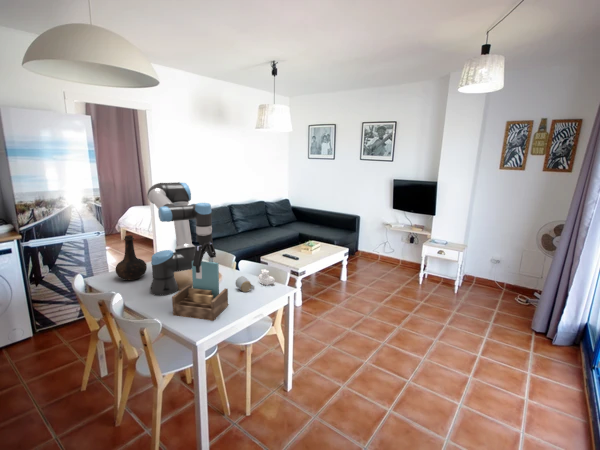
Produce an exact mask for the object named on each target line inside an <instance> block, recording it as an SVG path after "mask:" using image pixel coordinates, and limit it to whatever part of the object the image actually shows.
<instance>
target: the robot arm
mask: <svg viewBox="0 0 600 450" xmlns="http://www.w3.org/2000/svg"><path fill="white" fill-rule="evenodd" d="M191 192H192V191H191V189H190V187H189V185H188V184H187V182H180V181H179V182H157V183H155V184H153V185H152V186H150V188H148V190H147V193H146V196H147V199H148V200H149V202H150V203H151V204H154V205H155V207H156V208H157V209H158V218H159V221H160V222H164V223H165V222H168V223H169V222H173V225H174V231H175V232H174V234H175V239H176V247H175V249H174V251H173V250H171V249H165V250H160V251H157V252H155V253H154V254H152V255H151V263H150V264H151V273H152V280H151V285H150V287H149V292H150V294H151V295H154V296H159V297H161V296H167V295H172V294H175V293H176V292H178V290H179V284H178V282H177V280H176V277H175V273H177V272H183V271H189V270H190V271H192V261H193V260H194V261H193V266H196V278H198V279H202V267H201V266H200V265H201V262H202V261H203V258H204V256H205V254H207V255H208V262H215V258H217V252H216V249H215V246H214V241H213V240H214V239H213V234H212V233H213V232H212V231H213V227H212V226H213V225H212V220H213V219H212V205H211V204H210V203H209V202H198V203H191V204H190V201H191V200H192V193H191ZM189 220H190V221H191V220H195V233H196V237H195V238H196V242H197V243H198V244H199V245H194V244H193V243H192V242H193V241H192V234H191V228H190V221H189Z"/></svg>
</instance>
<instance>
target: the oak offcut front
mask: <svg viewBox="0 0 600 450" xmlns="http://www.w3.org/2000/svg"><path fill="white" fill-rule="evenodd" d="M212 300H213V295H204V294H196V293H195V294H193V301H194V303H202V304H210V305H211V301H212Z"/></svg>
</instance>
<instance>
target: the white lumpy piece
mask: <svg viewBox="0 0 600 450" xmlns="http://www.w3.org/2000/svg"><path fill="white" fill-rule="evenodd" d="M260 272H261V273H260V274H259V275H258V278H257V279H259V282H260V283H261V284H262V285H263V286H264V285H265V286H268V285H274V284H275V280H276V279H275V277H274V276H270V275H269V273H270V270H267V269H265V268H264V269H261V270H260Z"/></svg>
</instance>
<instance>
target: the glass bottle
mask: <svg viewBox="0 0 600 450" xmlns="http://www.w3.org/2000/svg"><path fill="white" fill-rule="evenodd" d="M123 240H124V256H123V259H122V260H120V261H119V262H118V263H117V264H116V266H115V273H116V276H117V277H119V279H121V280H123V281H135V280H138V279H140V278H141V277H143V276H144V275H145V273H146V271H147V266H148V265H147V262H145V260H144V259H142V258H138V257H137V256H136V252H135V247H134V246H135V245H134V240H135V238H134V237H133V235H132V234H131V235H125V236H124V238H123Z"/></svg>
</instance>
